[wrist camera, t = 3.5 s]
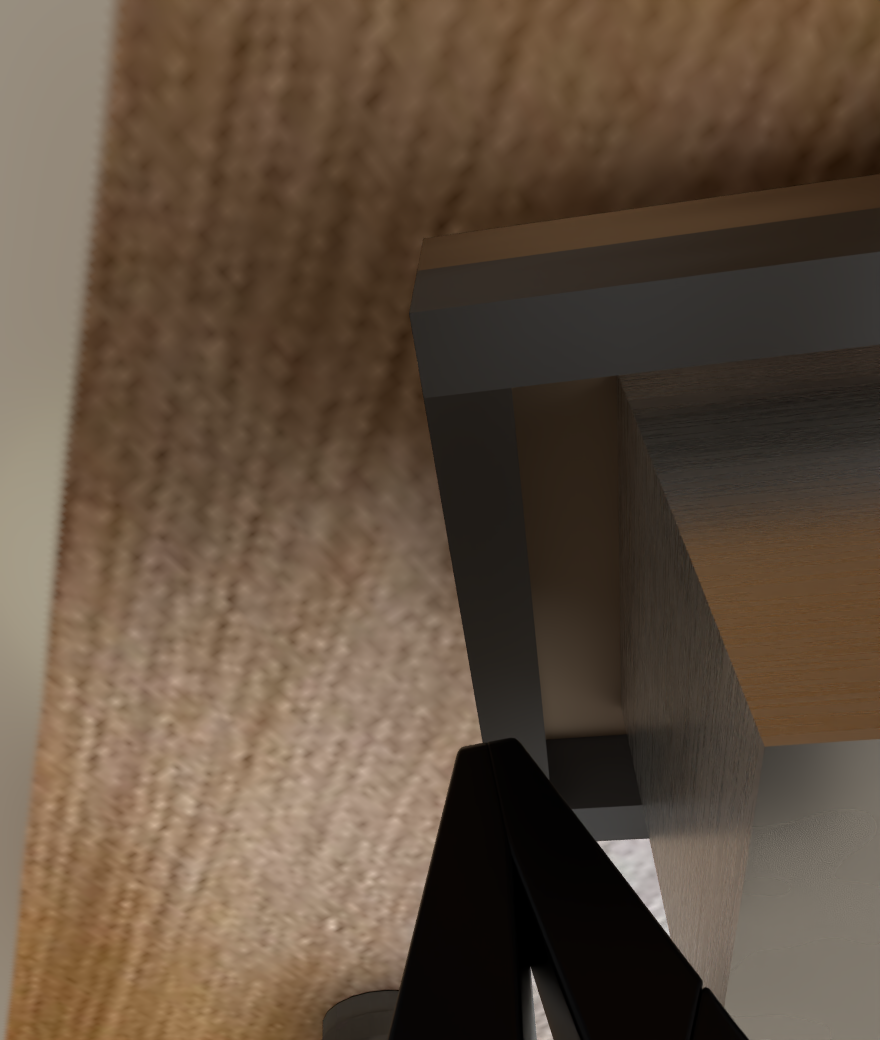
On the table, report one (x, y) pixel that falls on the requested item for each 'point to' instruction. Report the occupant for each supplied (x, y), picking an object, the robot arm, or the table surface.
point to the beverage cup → (361, 1017)
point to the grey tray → (600, 426)
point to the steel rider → (759, 676)
